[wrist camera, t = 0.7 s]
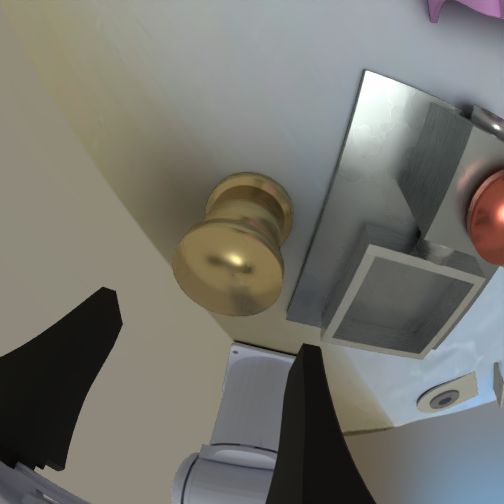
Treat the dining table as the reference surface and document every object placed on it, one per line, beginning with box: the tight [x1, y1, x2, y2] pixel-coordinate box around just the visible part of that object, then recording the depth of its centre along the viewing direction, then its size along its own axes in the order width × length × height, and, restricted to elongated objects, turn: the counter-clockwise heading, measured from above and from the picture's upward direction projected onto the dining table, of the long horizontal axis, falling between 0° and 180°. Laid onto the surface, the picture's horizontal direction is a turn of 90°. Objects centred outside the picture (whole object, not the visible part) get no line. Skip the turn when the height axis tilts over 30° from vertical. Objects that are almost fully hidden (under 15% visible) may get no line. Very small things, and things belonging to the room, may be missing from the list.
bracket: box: [417, 363, 504, 413], centre depth 25 cm, size 7×10×4 cm, turn 126°
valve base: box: [286, 70, 504, 360], centre depth 15 cm, size 18×13×7 cm
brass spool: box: [172, 172, 293, 316], centre depth 16 cm, size 5×5×6 cm
